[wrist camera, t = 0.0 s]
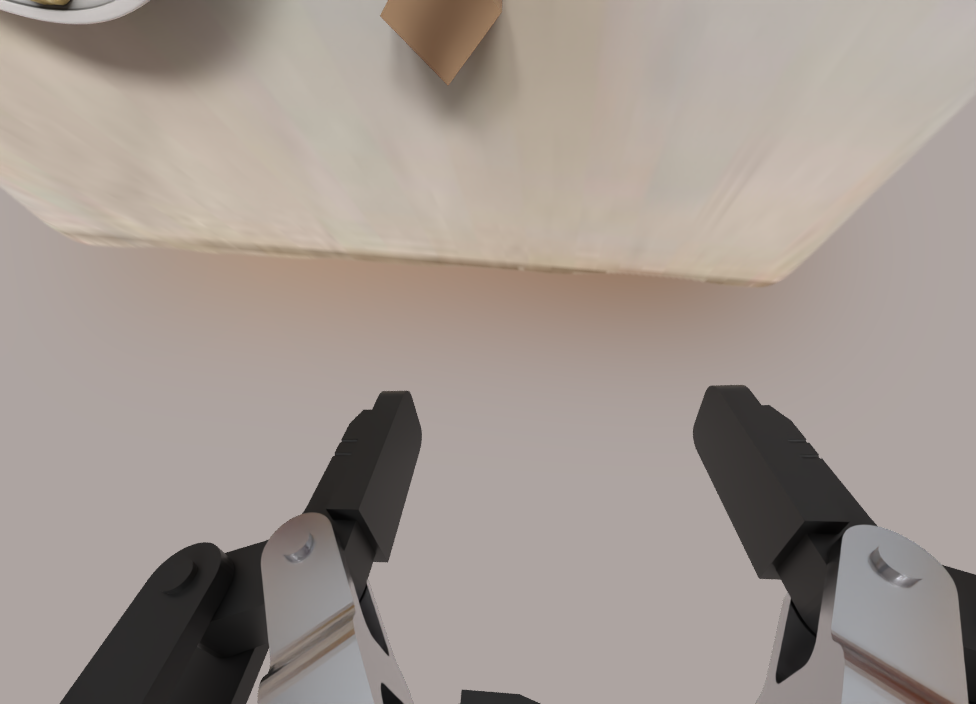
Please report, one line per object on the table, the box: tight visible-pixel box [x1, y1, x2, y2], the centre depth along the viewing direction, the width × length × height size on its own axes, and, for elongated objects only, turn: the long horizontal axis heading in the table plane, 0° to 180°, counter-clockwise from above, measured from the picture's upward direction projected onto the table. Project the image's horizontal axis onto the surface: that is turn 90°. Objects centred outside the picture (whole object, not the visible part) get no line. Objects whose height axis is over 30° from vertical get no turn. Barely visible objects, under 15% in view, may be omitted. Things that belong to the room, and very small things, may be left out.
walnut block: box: [380, 0, 502, 85], centre depth 24 cm, size 6×6×6 cm
